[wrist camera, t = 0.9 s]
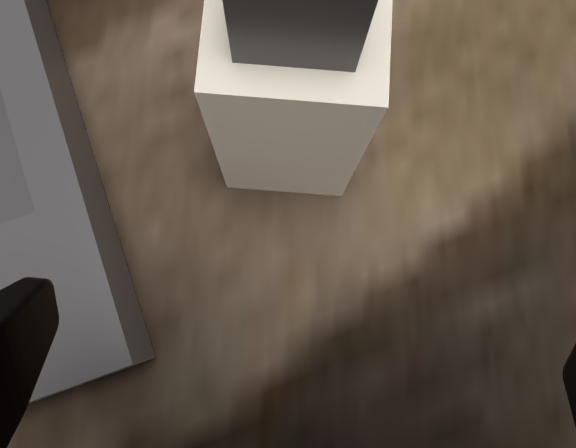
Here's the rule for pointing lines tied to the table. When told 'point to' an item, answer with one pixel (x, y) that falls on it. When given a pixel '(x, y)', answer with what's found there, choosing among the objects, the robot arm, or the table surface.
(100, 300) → the plate
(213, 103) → the plug
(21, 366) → the robot arm
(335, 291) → the table surface
